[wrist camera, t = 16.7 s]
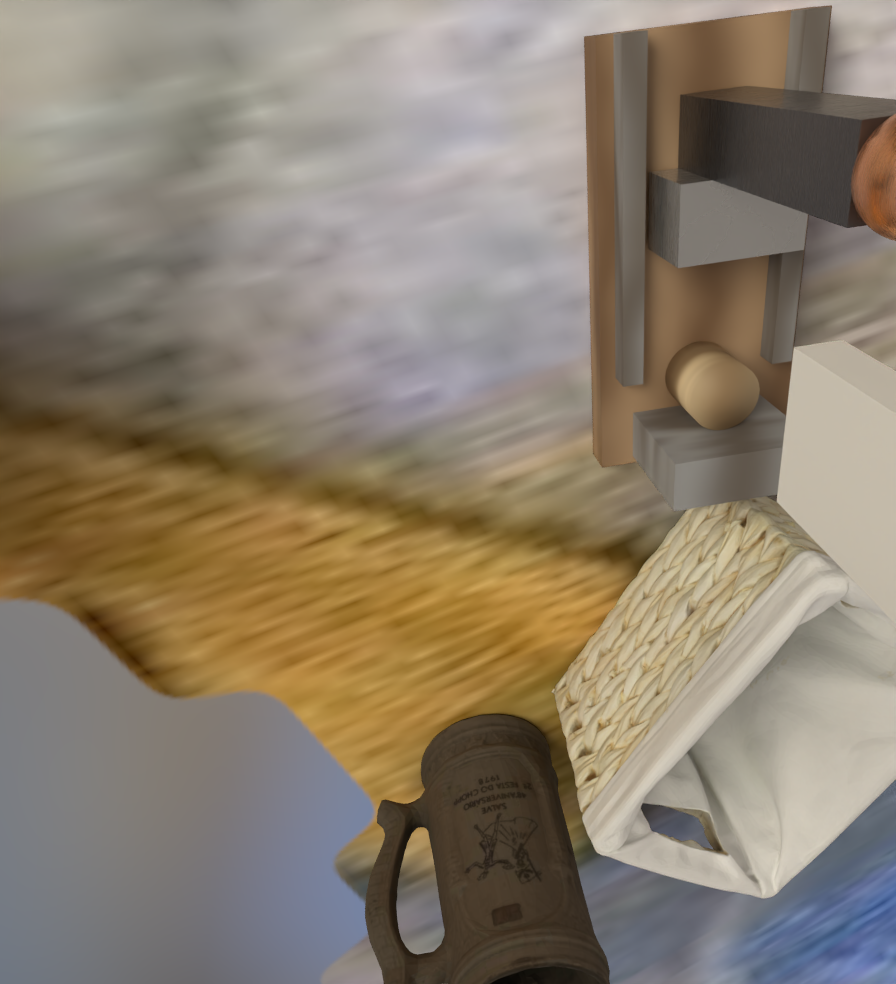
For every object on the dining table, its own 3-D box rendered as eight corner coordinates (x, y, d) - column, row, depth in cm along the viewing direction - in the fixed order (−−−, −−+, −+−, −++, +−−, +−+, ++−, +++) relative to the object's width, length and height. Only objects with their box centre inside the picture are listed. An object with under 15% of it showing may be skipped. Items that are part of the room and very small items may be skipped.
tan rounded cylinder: (664, 407, 49) (689, 434, 46) (666, 345, 47) (692, 369, 44) (726, 398, 49) (756, 424, 46) (731, 336, 47) (762, 359, 44)
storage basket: (716, 444, 53) (836, 569, 41) (881, 531, 59) (1033, 665, 46) (529, 692, 62) (580, 859, 50) (687, 748, 68) (770, 910, 55)
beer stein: (549, 697, 63) (608, 950, 45) (565, 787, 68) (623, 1044, 51) (359, 731, 63) (345, 994, 46) (389, 818, 69) (387, 1082, 51)
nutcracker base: (593, 453, 52) (638, 524, 45) (584, 36, 41) (644, 34, 33) (769, 425, 53) (843, 491, 45) (810, 7, 41) (922, -2, 33)
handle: (648, 248, 44) (843, 374, 27) (650, 88, 40) (880, 119, 23) (763, 232, 44) (1026, 346, 27) (777, 71, 40) (1094, 89, 24)
